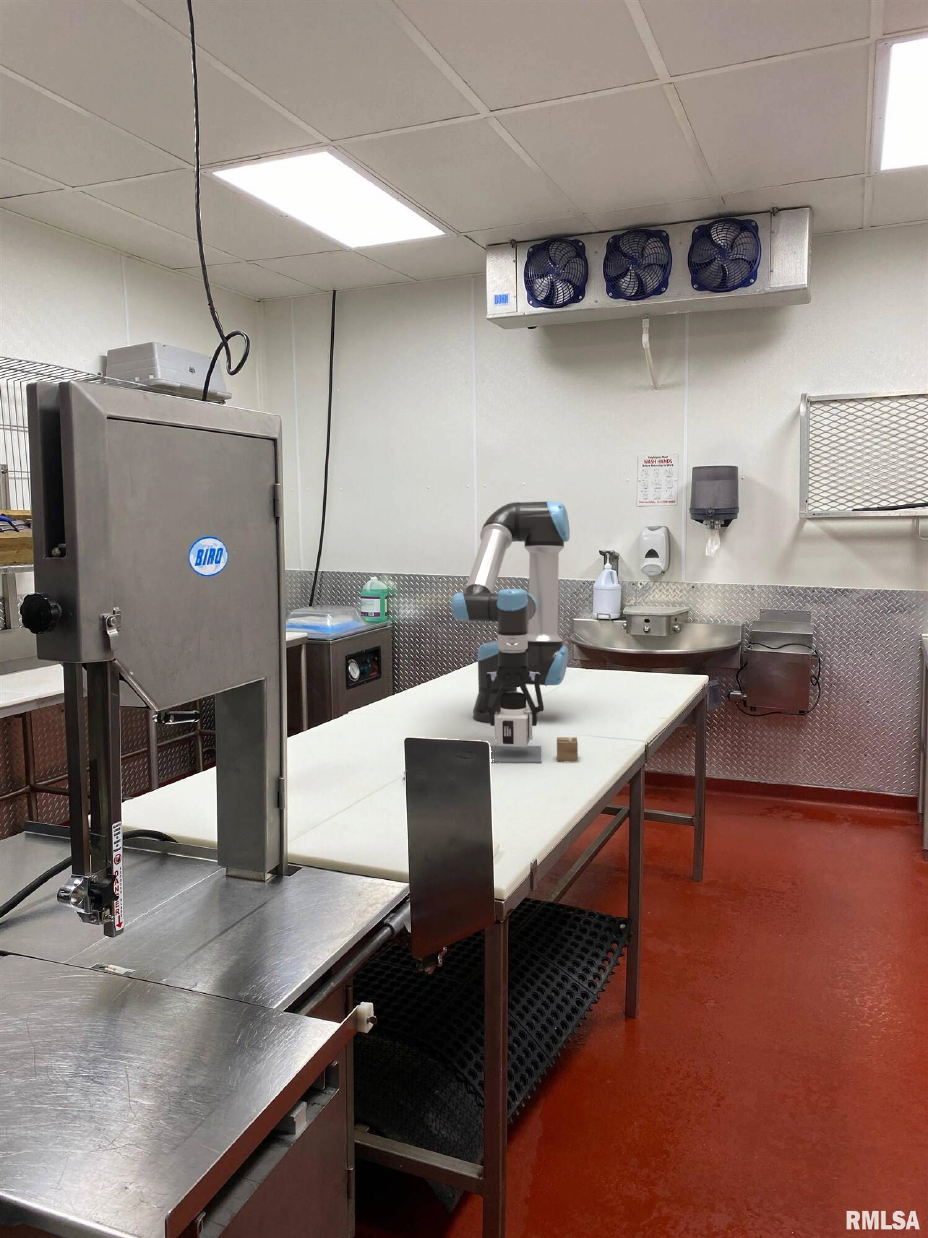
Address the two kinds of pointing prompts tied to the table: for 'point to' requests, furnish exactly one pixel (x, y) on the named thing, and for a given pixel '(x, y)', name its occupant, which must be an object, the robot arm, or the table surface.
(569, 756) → the letter cube
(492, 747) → the rubber mat
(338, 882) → the table surface
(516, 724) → the container
